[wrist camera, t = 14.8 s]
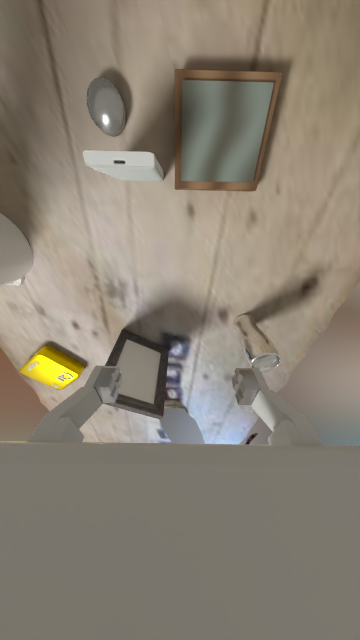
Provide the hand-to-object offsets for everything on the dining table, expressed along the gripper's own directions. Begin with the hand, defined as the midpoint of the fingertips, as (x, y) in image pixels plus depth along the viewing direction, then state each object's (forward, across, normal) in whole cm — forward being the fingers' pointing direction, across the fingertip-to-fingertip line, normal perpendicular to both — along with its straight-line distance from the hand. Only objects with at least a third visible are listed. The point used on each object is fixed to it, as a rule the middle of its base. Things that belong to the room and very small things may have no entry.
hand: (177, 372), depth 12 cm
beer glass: (+31, -19, +18) cm, 41 cm away
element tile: (+32, +44, +38) cm, 66 cm away
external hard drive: (+31, +7, -14) cm, 35 cm away
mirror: (+31, -6, -18) cm, 36 cm away
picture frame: (+31, +10, +26) cm, 42 cm away
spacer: (+31, +11, -21) cm, 39 cm away
